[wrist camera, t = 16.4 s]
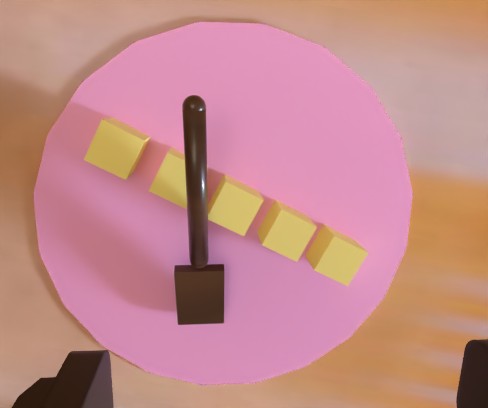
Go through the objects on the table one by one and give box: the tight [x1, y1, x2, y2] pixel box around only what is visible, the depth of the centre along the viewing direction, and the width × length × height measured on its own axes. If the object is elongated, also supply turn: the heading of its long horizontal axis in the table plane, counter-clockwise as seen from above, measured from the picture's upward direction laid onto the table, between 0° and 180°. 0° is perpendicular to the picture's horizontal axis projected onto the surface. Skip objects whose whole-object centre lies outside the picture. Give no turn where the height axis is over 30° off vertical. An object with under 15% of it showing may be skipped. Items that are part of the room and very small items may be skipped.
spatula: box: [174, 95, 225, 325], centre depth 31 cm, size 18×4×11 cm
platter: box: [33, 22, 413, 385], centre depth 34 cm, size 32×32×3 cm
